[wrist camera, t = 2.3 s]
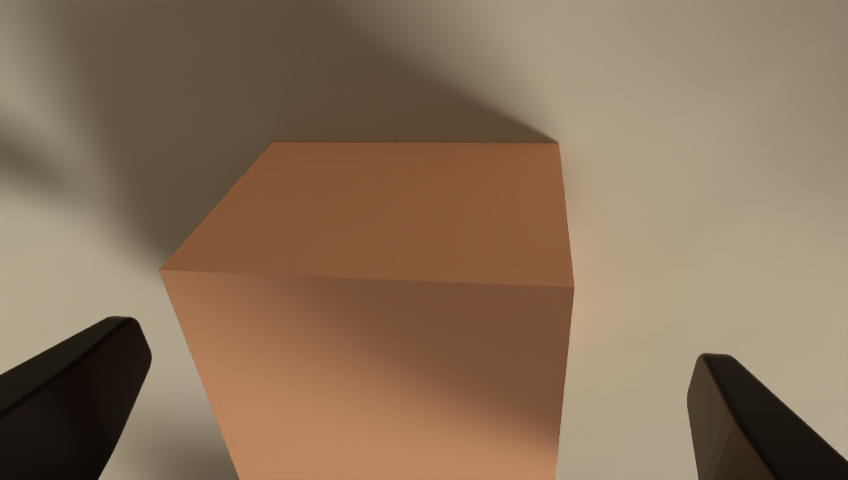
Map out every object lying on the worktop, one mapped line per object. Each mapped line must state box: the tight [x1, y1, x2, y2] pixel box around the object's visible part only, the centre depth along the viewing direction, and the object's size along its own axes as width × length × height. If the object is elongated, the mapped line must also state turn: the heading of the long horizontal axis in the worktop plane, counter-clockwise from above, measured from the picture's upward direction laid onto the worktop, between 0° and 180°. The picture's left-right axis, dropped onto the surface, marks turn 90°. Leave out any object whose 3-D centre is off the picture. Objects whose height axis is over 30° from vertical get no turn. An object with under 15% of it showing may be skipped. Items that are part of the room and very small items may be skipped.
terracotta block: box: [159, 142, 574, 480], centre depth 10 cm, size 5×5×4 cm
